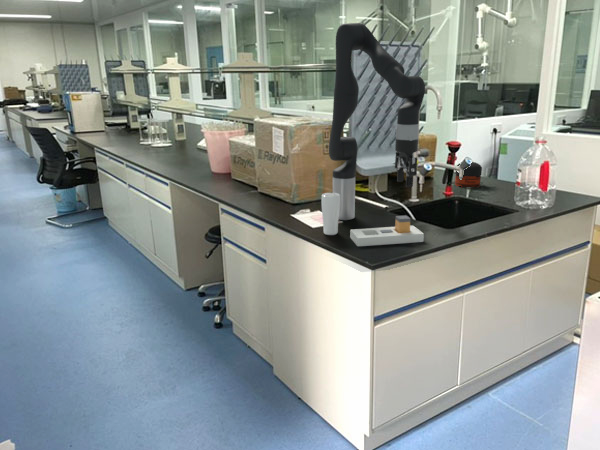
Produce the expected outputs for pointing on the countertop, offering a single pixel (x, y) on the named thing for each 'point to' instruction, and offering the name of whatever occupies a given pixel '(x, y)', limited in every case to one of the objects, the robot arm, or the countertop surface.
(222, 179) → the countertop surface
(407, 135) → the robot arm
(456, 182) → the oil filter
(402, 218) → the plug
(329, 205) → the drinking glass
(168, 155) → the countertop surface
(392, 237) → the pdu strip
